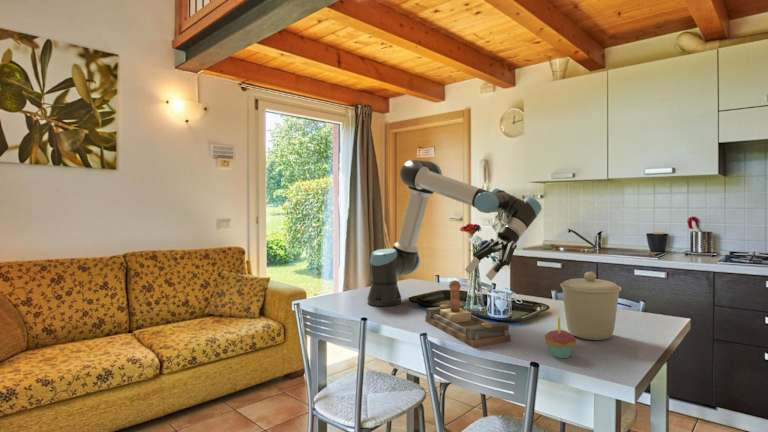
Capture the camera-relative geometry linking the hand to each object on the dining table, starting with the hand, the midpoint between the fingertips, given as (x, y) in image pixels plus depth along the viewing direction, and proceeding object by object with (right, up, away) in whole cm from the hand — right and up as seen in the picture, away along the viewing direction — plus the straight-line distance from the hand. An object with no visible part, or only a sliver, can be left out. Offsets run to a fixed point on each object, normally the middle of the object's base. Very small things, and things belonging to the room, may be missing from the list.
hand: (477, 275), depth 159 cm
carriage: (-9, -16, -2) cm, 18 cm away
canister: (+33, -18, -16) cm, 41 cm away
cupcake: (+17, -19, -33) cm, 42 cm away
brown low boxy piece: (-6, -18, -8) cm, 21 cm away
